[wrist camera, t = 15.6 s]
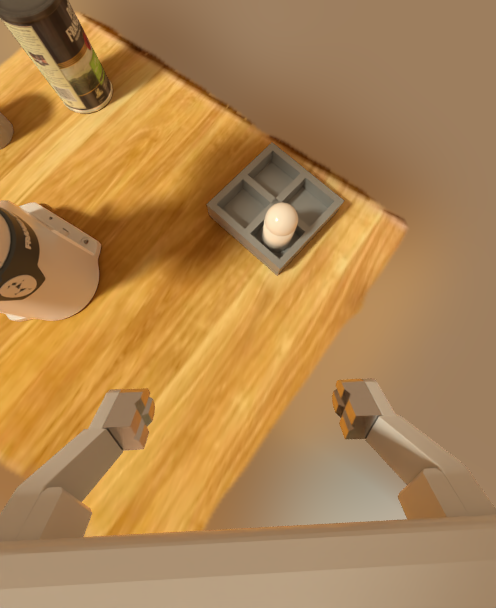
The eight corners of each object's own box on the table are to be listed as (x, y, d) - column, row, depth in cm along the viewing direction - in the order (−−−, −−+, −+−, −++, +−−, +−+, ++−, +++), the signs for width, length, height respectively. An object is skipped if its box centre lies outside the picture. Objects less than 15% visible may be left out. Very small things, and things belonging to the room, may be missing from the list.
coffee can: (112, 69, 48) (58, -42, 34) (114, 111, 47) (59, 13, 33) (61, 73, 48) (-14, -37, 34) (61, 116, 46) (-18, 19, 32)
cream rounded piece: (255, 240, 42) (258, 211, 33) (274, 220, 42) (282, 188, 33) (276, 258, 41) (285, 235, 32) (295, 238, 42) (309, 210, 33)
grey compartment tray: (209, 215, 43) (206, 204, 40) (269, 157, 45) (272, 141, 42) (277, 275, 42) (280, 269, 38) (336, 212, 44) (344, 200, 40)
